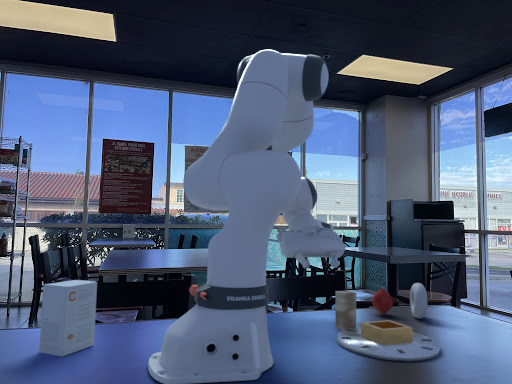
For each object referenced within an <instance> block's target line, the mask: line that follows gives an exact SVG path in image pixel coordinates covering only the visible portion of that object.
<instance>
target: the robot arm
mask: <svg viewBox="0 0 512 384" xmlns="http://www.w3.org/2000/svg"><path fill="white" fill-rule="evenodd" d="M327 66H328V65H327V63H326V61H325V59H324V58H323V57H322V56H320V55H316V54H307V55H306V54H300V53H299V54H297V53H282V52H279V51H278V50H277V51H276V50H275V49H274V50H273V49H263V50H259V51H257V52H256V53H255V54H251V55H248V56H245V57H244V58H243V59H241V61H240V62H239V64H238V66H237V70H236V71H237V72H236V81H237V83H236V84H237V88H236V91H235V94H234V98H233V100H232V104H231V106H230V110H229V112H228V115H227V118H226V121H225V123H224V125H223V126H222V128H221V130H220V131H219V133H218V134H217V136H216V137H215V139H214V140H213V141H212V143H211V144H210V146H209V147H208V148H207V150H206V151H205V152H204V153H203V154H202V155H201V156H200V158H198V159H197V160H196V161H195V162H193V163H192V164H191V165H189V166H188V167H187V169H186V171H185V173H184V175H183V179H182V180H183V182H182V183H183V192H184V195H185V196H186V198H187V200H188V201H189V202H190V203H191V204H192V205H194V206H195V207H199V208H202V209H207V210H210V211H228V216H227V219H226V221H225V223H224V225H223V227H222V228H221V230H220V231H219V232H217V233H216V234H214V235H213V236H212V237H211V238H210V240H209V242H208V246H207V269H206V270H207V273H206V276H207V277H206V283H204V284H203V285H202V286H199V285H197V284H192V285H191V287H189V289H188V291H189V293H190V295H191V296H193V297H195V305H194V306H193V307H191V308H190V309H189V310H188V311H187V312H186V313H184V314H183V315H182V316H180V317H179V318H178V319H177V320H175V321H174V322H173V323H172V324H170V325H169V326H168V327H167V329H166V331H165V333H164V337H163V340H162V344H161V345H162V346H161V351H158V352H155V353H153V354H152V355H151V356H150V357H149V359H148V363H147V369H148V372H149V375H150V376H151V377H152V378H153V379H154V380H156V381H157V382H158V383H162V384H202V383H203V384H204V383H219V382H220V383H221V382H222V383H224V382H225V383H226V382H240V381H254V380H259V378H260V377H261V375H262V374H263V372H265V371H267V370H269V369H270V368H272V367H273V364H274V358H273V355H272V351H271V346H270V341H269V333H268V325H267V324H268V323H267V322H268V321H267V314H268V311H269V309H268V308H269V285H268V284H267V282H266V281H267V280H266V279H267V261H268V260H267V259H268V257H267V256H268V246H269V242H270V238H271V234H272V231H273V229H274V226H275V224H276V222H277V221H278V219H279V217H280V215H281V214H282V216H283V220H284V221H285V223H286V224H287V225H288V226H287V228H288V230H283V229H282V230H279V231H277V232H276V235H275V236H276V239H277V241H279V242H278V243H279V248H280V253H281V255H282V256H283V257H284V258H288V259H289V258H292V259H293V258H295V260H296V261H298V263H300V264H301V266H302V268H303V269H309V268H310V266H311V262H310V260H309V259H306V258H330V259H331V261H330V263H329V264H330V266H331V268H338V267H339V265H340V262H339V260H338V258H341V257H343V254H344V252H345V251H346V246H345V243H344V242H343V240H342V239H341V237H340V235H339V234H338V233H337V232H335V231H334V229H335V227H334V226H333V224H331V223H329V222H324V221H321V220H319V219H317V218H316V217H315V216H313V214H312V211H313V210H314V208H315V206H316V203H317V201H318V193H317V190H316V187H315V185H314V183H313V181H311V180H310V179H309V177H307V176H302V173H301V170H300V166H299V164H298V163H297V161H296V160H295V159H294V157H293V156H292V155H291V154H290V153H289V152H291V151H292V150H295V149H296V148H298V147H300V146H301V145H303V144H304V143H305V142H306V141H308V139H309V138H310V136H311V135H312V133H313V130H314V122H315V120H314V116H315V115H314V101H317V100H320V99H321V97H322V96H324V95H325V92H326V90H327V87H328V85H329V84H328V83H329V78H330V77H329V70H328V67H327Z"/></svg>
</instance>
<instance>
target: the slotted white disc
mask: <svg viewBox="0 0 512 384" xmlns="http://www.w3.org/2000/svg"><path fill="white" fill-rule="evenodd" d="M336 339H337V340H336V341H337V344H338V345H339V346H340V347H341V348H343V349H344V350H347V351H349V352H351V353H354V354H358V355H360V356H364V357H368V358H373V359H379V360H386V361H398V362H417V361H418V362H419V360H420V361H426V359H427V360H430V359H434V358H435V357H438V356H439V355H440V343H439V342H437V341H436V340H435V339H433V338H432V337H429V336H427V335H424V334H421V333H419V332H415V331H413V326H410V325H406V324H403V323H400V322H396V321H393V320H390V319H386V320H376V321H375V320H374V321H362V322H360V326H358V327H357V326H356V328H349V329H345V330H340V331H339V332H338V333H337V336H336Z"/></svg>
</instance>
